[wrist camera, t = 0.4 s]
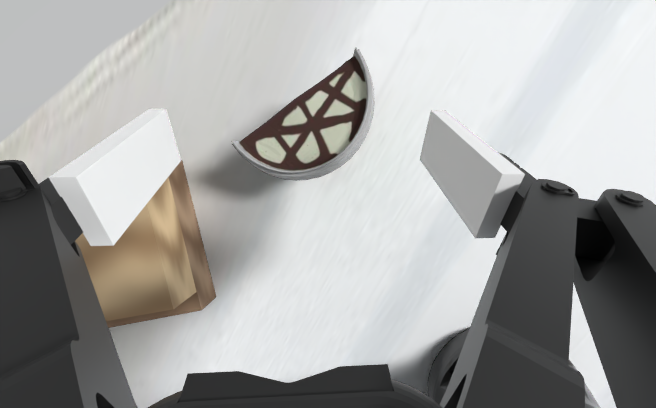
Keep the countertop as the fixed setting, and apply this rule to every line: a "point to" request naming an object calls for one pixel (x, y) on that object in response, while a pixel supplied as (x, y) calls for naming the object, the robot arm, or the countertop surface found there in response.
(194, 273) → the tower base
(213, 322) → the countertop surface
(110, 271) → the tower top
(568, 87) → the countertop surface
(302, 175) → the food container
